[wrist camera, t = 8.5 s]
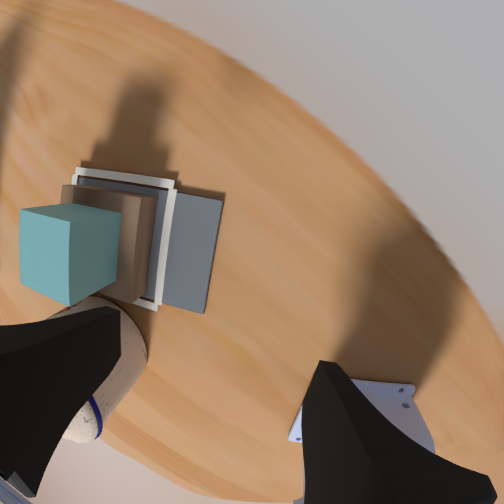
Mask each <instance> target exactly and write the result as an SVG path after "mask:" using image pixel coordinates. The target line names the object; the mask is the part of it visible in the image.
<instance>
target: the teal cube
mask: <svg viewBox="0 0 504 504" xmlns="http://www.w3.org/2000/svg"><path fill="white" fill-rule="evenodd" d="M121 215H122V213H119V212H114V211H109V210H104V209H100V208H95V207H90V206H85V205H80V204H75V203H67V204H58V205H49V206H41V207H33V208H26V209H20V224H19V255H20V276H21V284H23V285H25V286H27V287H29V288H31V289H33V290H35V291H37V292H39V293H41V294H43V295H45V296H47V297H49V298H51V299H54V300H56V301H58V302H60V303H62V304H64V305H67V306H69V307H70V306H72V305H74V304H75V303H77V302H79V301H81V300H82V299H84V298H86V297H88V296H89V295H91V294H93V293H95V292H96V291H98V290H100V289H102V288H103V287H105V286H107V285H109V284H111V283H112V282H114V281H116V273H117V257H118V245H119V234H120V224H121Z"/></svg>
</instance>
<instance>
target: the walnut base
mask: <svg viewBox="0 0 504 504" xmlns="http://www.w3.org/2000/svg"><path fill="white" fill-rule="evenodd" d="M157 202H158V197H156V196H150V195H145V194H139V193H133V192H127V191H121V190H115V189H109V188H103V187H96V186H90V185H83V184H81V185H62V193H61V202H60V204H67V203H75V204H80V205H85V206H90V207H95V208H100V209H104V210H109V211H114V212H119V213H122V215H121V224H120V234H119V245H118V257H117V273H116V281H114V282H112V283H111V284H109V285H107V286H105V287H103V288H102V289H100V290H98V291H96V292H98V293H100V294H103V295H106V296H109V297H112V298H114V299H117V300H120V301H123V302H126V303H129V304H132V303H133V302H134V301H136V300H137V299H138V298H140V297H141V296H142V295H144V294H145V293H146V292H147V285H148V274H149V264H150V254H151V245H152V237H153V229H154V222H155V215H156V208H157Z"/></svg>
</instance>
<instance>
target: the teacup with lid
mask: <svg viewBox="0 0 504 504" xmlns="http://www.w3.org/2000/svg"><path fill="white" fill-rule="evenodd" d="M103 306H109V307H112V308H114V309H117V310H120V311H121V357H120V359H119V360H118V362H117V364H116V365H115V367H114V369H113V370H112V372H111V373H110V375H109V376H108V377H107V378H106V380H105V381H104V382H103V383H102V384H101V386H100V387H99V388H98V389H97V390H96V391H95V393H94V394H93V395H92V396H91V397H90V398H89V400H88V401H87V402H86V403H85V404H84V406H83V407H82V408H81V409H80V410H79V411H78V413H77V414H76V415H75V417H74V418H73V420H72V421H71V423H70V424H69V426H68V428H67V429H66V431H65V432H64V434H63V436H62V437H63V438H65V439H67V440H70V441H73V442H77V443H86V442H90V441H92V440H94V439H96V438H98V437H99V435H100V434H101V432H102V428H103V424H104V423H105V422H106V420H107V419H108V418H109V416H110V415H111V414H112V413H113V411H114V410H115V409H116V407H117V406H118V405H119V403H120V402H121V401H122V399H123V398H124V397H125V396H126V394H127V393H128V392H129V390H130V389H131V388H132V386H133V385H134V384H135V383H136V381H137V380H138V379H139V377H140V376H141V375H142V373H143V372H144V370H145V367H146V362H147V352H146V347H145V343H144V340H143V338H142V335H141V333H140V331H139V330H138V328H137V326H136V325H135V323H134V322H133V321H132V319H131V318H130V317H129V316H128V315H127V314H126V313H125V312H124V311H123V310H122V309H121V308H119V307H118V306H117V305H115V304H114V303H112V302H110V301H108V300H106V299H103V298H99V297H86V298H84V299H82V300H81V301H79V302H77V303H75V304H74V305H72V306H70V307H69V306H68V307H66V308H64V309H62V310H61V311H59V312H57V313H56V314H54V315H52V316H51V317H49V318H47V319H45V320H48V319H53V318H57V317H62V316H66V315H69V314H73V313H77V312H81V311H85V310H89V309H93V308H98V307H103Z"/></svg>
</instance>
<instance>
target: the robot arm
mask: <svg viewBox="0 0 504 504" xmlns="http://www.w3.org/2000/svg"><path fill="white" fill-rule="evenodd" d="M120 357H121V311H120V310H117V309H114V308H112V307H109V306H103V307H98V308H93V309H89V310H85V311H81V312H77V313H73V314H69V315H66V316H62V317H57V318H53V319H48V320H43V321H38V322H33V323H26V324H18V325H3V326H0V476H1V477H2V478H3V479H4V480H5V481H7V482H8V483H9V484H11V485H12V486H13V487H15V488H16V489H17V490H18V491H19V492H21V493H22V494H23V495H24V496H26V497H28V498H30V497H31V498H32V497H36V494H37V491H38V488H39V485H40V482H41V480H42V477H43V474H44V472H45V470H46V467H47V465H48V463H49V461H50V458H51V456H52V454H53V452H54V450H55V448H56V447H57V445H58V443H59V441H60V439H61V437H62V436H63V434H64V432H65V431H66V429H67V428H68V426H69V424H70V423H71V421H72V420H73V418H74V417H75V415H76V414H77V413H78V411H79V410H80V409H81V408H82V407H83V406H84V404H85V403H86V402H87V401H88V400H89V398H90V397H91V396H92V395H93V394H94V393H95V391H96V390H97V389H98V388H99V387H100V386H101V384H102V383H103V382H104V381H105V380H106V378H107V377H108V376H109V375H110V373H111V372H112V370H113V369H114V367H115V365H116V364H117V362H118V360H119V359H120ZM400 389H401V390H400ZM415 390H416V388H415V386H414V385H412V384H398V383H385V382H375V381H365V380H357V379H350V378H349V377H348V375H347V374H346V373H345V372H344V371H343V370H342V368H341V367H340V366H339V365H338V364H337V363H334V362H328V361H321V360H320V361H319V363H318V366H317V368H316V371H315V374H314V376H313V378H312V381H311V383H310V386H309V388H308V391H307V393H306V396H305V398H304V400H303V403H302V405H301V407H300V410H299V412H298V414H297V417H296V419H295V421H294V423H293V426H292V428H291V430H290V432H289V434H288V439H289V440H290V441H295V442H302V445H303V497H302V498H300V499H297V500H294V501H293V504H494V502H495V501H496V499H497V494H496V491H495V489H494V487H493V485H492V483H491V481H490V478H489V477H488V476H487V475H484V474H481V473H478V472H475V471H472V470H469V469H466V468H463V467H461V466H458V465H456V464H454V463H452V462H450V461H448V460H445V459H443V458H441V457H440V456H438V455H436V454H435V446H434V441H433V438H432V436H431V434H430V432H429V430H428V427H427V425H426V423H425V421H424V419H423V417H422V415H421V413H420V411H419V409H418V407H417V406H416V404H415V402H414V400H413V398H412V395H413V394H414V392H415ZM298 437H300V438H298ZM4 480H2V479H1V478H0V500H1V502H3V503H4V504H32V503H31V502H29V501H28V500H27V499H26V498H24V497H23V496H22V495H20V494H19V493H18V492H17V491H15V490H14V489H13V488H12V487H11V486H9V485H8V484H7V483H6V482H5V481H4Z"/></svg>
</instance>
